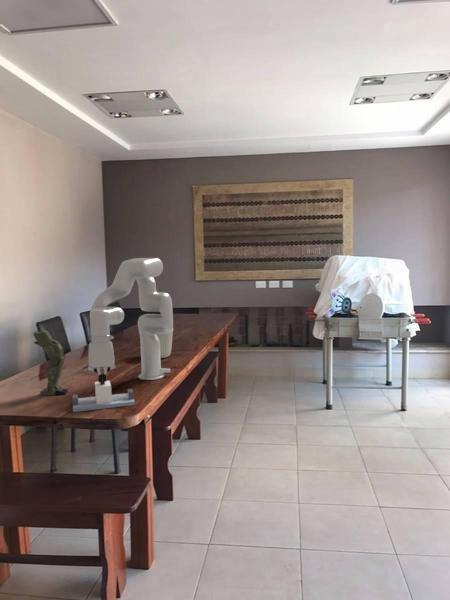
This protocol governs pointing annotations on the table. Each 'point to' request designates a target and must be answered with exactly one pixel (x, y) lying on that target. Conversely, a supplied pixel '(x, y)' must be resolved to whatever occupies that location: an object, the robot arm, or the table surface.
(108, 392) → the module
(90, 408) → the board
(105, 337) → the robot arm
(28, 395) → the table surface
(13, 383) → the table surface
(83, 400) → the rail
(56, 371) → the green creature figurine
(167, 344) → the canister
